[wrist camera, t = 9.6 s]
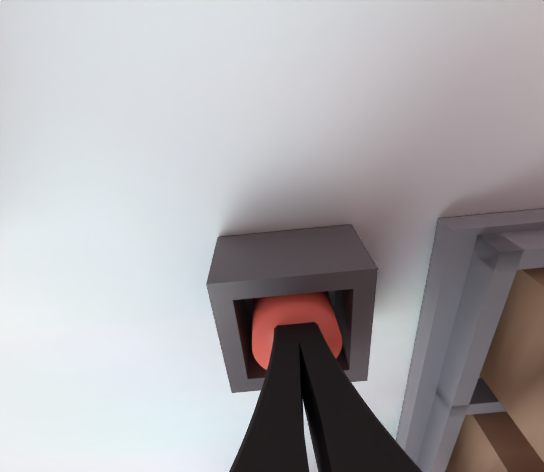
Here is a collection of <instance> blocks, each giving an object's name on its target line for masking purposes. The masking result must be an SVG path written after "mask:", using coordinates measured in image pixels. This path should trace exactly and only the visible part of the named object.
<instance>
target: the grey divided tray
mask: <svg viewBox="0 0 544 472" xmlns="http://www.w3.org/2000/svg"><path fill="white" fill-rule="evenodd" d="M543 267H544V209H533V210H522V211H512V212H501V213H491V214H480V215H470V216H459V217H449V218H438V224H437V229H436V234H435V239H434V245H433V250H432V255H431V260H430V266H429V271H428V276H427V281H426V287H425V292H424V297H423V302H422V308H421V313H420V318H419V323H418V329H417V334H416V339H415V344H414V350H413V355H412V360H411V365H410V371H409V376H408V381H407V386H406V392H405V397H404V402H403V408H402V413H401V418H400V423H399V429H398V434H397V439H396V442H397V443H398V444H399V446H400V447H401V448H402V449H403V450H404V451H405V452H406V454H407V455H408V456H409V457H410V458H411V459H412V460H413V462H414V463H415V464H416V465H417V466H418V467H419V468H420V469H421V470H422V471H423V472H448V471H447V469H446V468H447V465H448V462H449V460H450V457H451V454H452V451H453V448H454V446H455V443H456V440H457V437H458V434H459V432H460V429H461V426H462V423H463V420H464V418H465V415H471V414H482V413H493V412H504V411H506V410H505V409H504V407H503V406H502V404H501V403H500V402H499V400H498V399H497V398H496V396H495V395H494V393H493V392H492V391H491V389H490V388H489V387H488V385H487V384H486V382H485V381H484V380H483V378H482V377H481V376H480V373H481V370H482V367H483V364H484V361H485V359H486V356H487V353H488V350H489V347H490V345H491V342H492V339H493V336H494V333H495V331H496V328H497V325H498V322H499V319H500V317H501V314H502V311H503V308H504V305H505V303H506V300H507V297H508V294H509V291H510V289H511V286H512V283H513V280H514V277H515V275H516V272H517V270H522V269H532V268H543Z"/></svg>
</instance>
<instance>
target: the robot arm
mask: <svg viewBox="0 0 544 472" xmlns="http://www.w3.org/2000/svg"><path fill="white" fill-rule="evenodd" d="M303 402H304V407H305V412H306V416H307V421H308V426H309V430H310V435H311V439H312V444H313V449H314V453H315V458H316V463H317V467H318V472H423V471H422V470H421V469H420V468H419V467H418V466H417V465H416V464H415V463H414V462H413V460H412V459H411V458H410V457H409V456H408V455H407V454H406V452H405V451H404V450H403V449H402V448H401V447H400V446H399V444H398V443H397V442H396V441H395V440H394V438H393V437H392V436H391V435H390V434H389V432H388V431H387V430H386V429H385V428H384V426H383V425H382V424H381V423H380V421H379V420H378V419H377V417H376V416H375V415H374V414H373V412H372V411H371V410H370V408H369V407H368V406H367V404H366V403H365V402H364V400H363V399H362V397H361V396H360V395H359V393H358V392H357V390H356V389H355V388H354V386H353V385H352V383H351V382H350V380H349V379H348V377H347V376H346V374H345V373H344V371H343V369H342V368H341V366H340V365H339V363H338V362H337V360H336V358H335V357H334V355H333V353H332V351H331V350H330V348H329V346H328V344H327V342H326V341H325V339H324V337H323V335H322V333H321V330H320V328H319V326H318V324H317V323H315V322H309V323H299V324H288V325H277V326H276V327H275V328H274V337H273V345H272V351H271V355H270V360H269V364H268V368H267V372H266V375H265V379H264V383H263V386H262V389H261V392H260V395H259V398H258V401H257V404H256V407H255V410H254V413H253V416H252V419H251V421H250V424H249V427H248V429H247V432H246V434H245V437H244V439H243V442H242V444H241V447H240V449H239V451H238V454H237V456H236V458H235V460H234V463H233V465H232V467H231V469H230V471H229V472H309V467H308V460H307V453H306V445H305V438H304V422H303Z"/></svg>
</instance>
